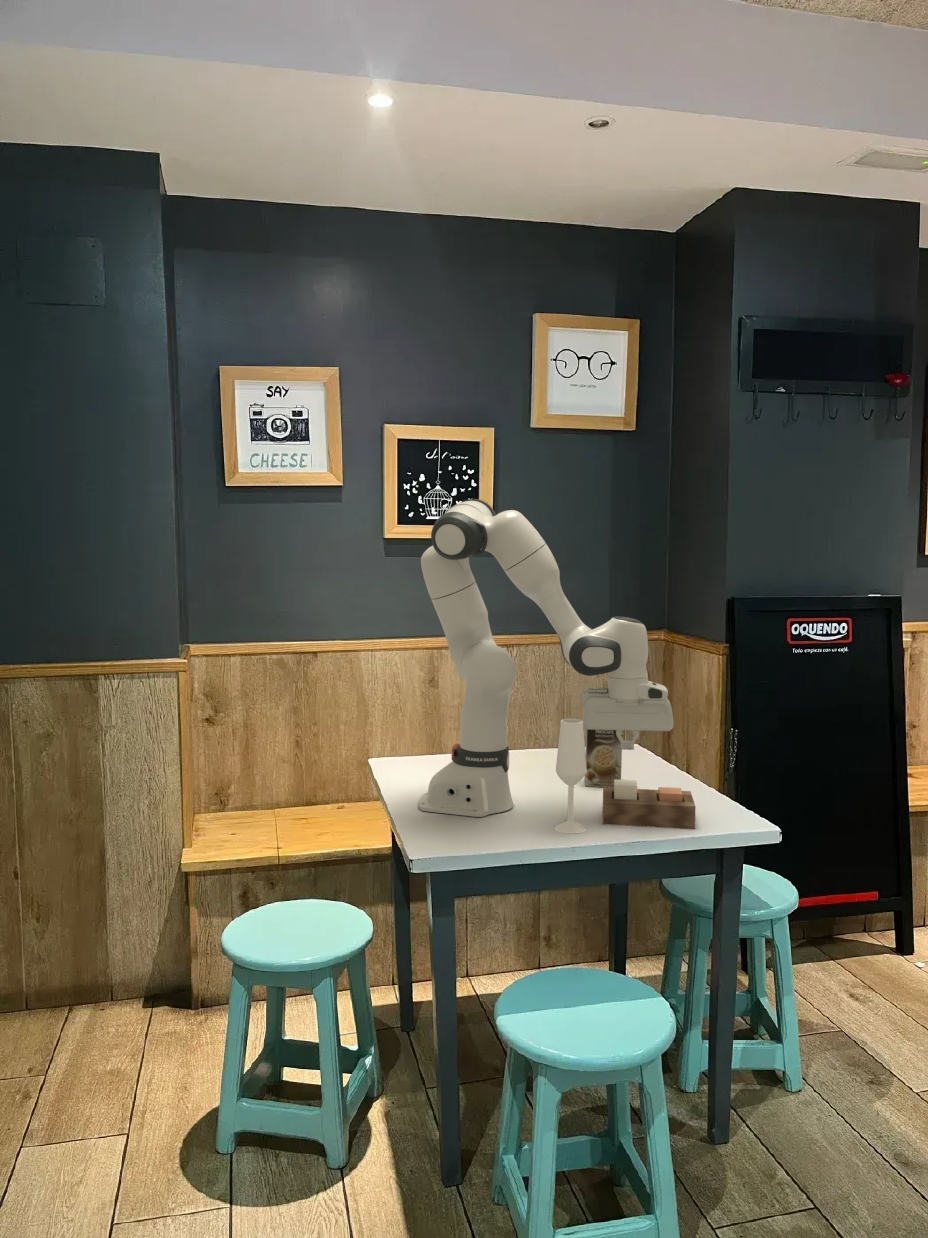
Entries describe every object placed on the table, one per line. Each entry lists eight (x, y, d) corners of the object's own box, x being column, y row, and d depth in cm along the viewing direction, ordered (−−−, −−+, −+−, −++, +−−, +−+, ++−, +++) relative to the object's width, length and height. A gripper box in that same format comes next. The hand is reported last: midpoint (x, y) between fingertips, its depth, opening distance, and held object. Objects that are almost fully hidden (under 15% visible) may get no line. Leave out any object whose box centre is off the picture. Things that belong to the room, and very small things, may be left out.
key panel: (602, 824, 209) (603, 802, 209) (602, 808, 221) (603, 787, 221) (694, 828, 206) (695, 806, 206) (689, 812, 218) (690, 791, 218)
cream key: (614, 807, 212) (614, 785, 212) (613, 800, 217) (614, 779, 216) (636, 808, 211) (637, 786, 211) (635, 801, 216) (636, 780, 216)
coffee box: (585, 787, 239) (586, 724, 237) (584, 780, 245) (585, 719, 244) (621, 788, 238) (622, 725, 237) (620, 781, 244) (621, 720, 243)
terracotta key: (659, 815, 211) (659, 793, 210) (658, 808, 216) (658, 787, 215) (682, 816, 210) (682, 794, 210) (680, 809, 215) (680, 788, 214)
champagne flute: (568, 821, 211) (570, 716, 209) (592, 829, 206) (593, 721, 204) (548, 828, 207) (549, 720, 204) (572, 835, 202) (573, 725, 199)
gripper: (580, 690, 210) (580, 751, 211) (674, 691, 207) (673, 753, 208) (581, 685, 216) (581, 744, 218) (672, 686, 213) (671, 746, 215)
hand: (627, 749), depth 213 cm, fingers closed
